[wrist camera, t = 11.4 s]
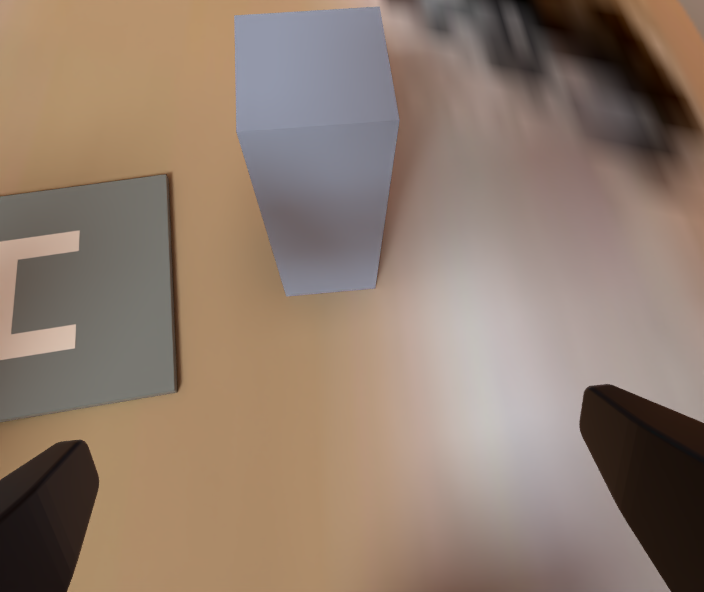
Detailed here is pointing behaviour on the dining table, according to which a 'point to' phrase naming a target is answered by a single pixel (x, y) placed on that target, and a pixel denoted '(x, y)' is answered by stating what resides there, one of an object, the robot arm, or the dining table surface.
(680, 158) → the dining table surface
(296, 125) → the grey-blue tall block
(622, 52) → the dining table surface
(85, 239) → the board
